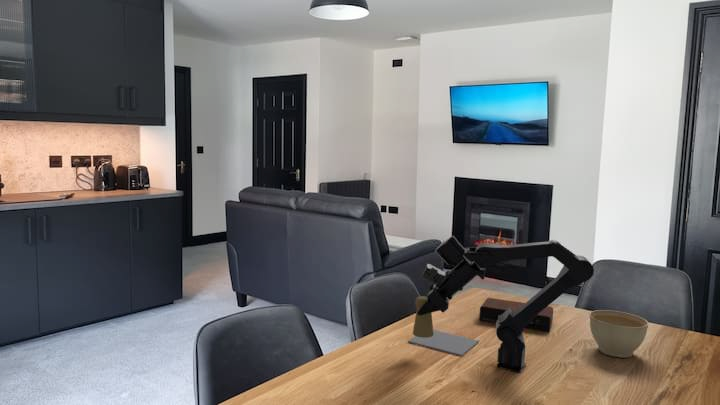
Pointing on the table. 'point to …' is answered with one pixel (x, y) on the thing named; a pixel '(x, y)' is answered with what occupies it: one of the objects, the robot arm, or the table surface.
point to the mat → (446, 342)
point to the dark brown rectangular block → (498, 307)
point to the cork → (423, 320)
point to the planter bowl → (617, 332)
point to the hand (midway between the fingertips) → (419, 311)
